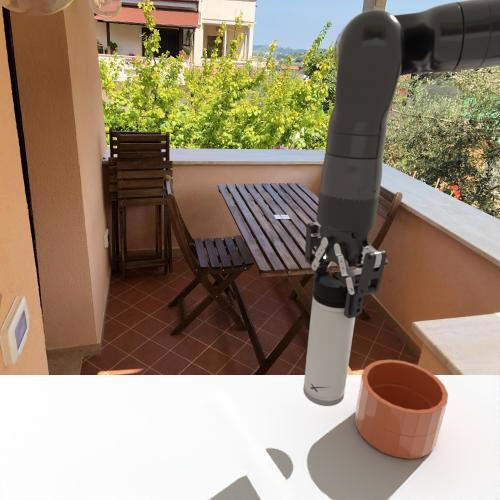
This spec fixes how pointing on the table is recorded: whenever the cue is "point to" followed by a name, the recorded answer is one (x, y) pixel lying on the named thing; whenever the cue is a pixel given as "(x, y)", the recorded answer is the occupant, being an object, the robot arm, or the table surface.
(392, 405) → the planter
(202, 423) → the table surface
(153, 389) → the table surface
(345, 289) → the travel mug
